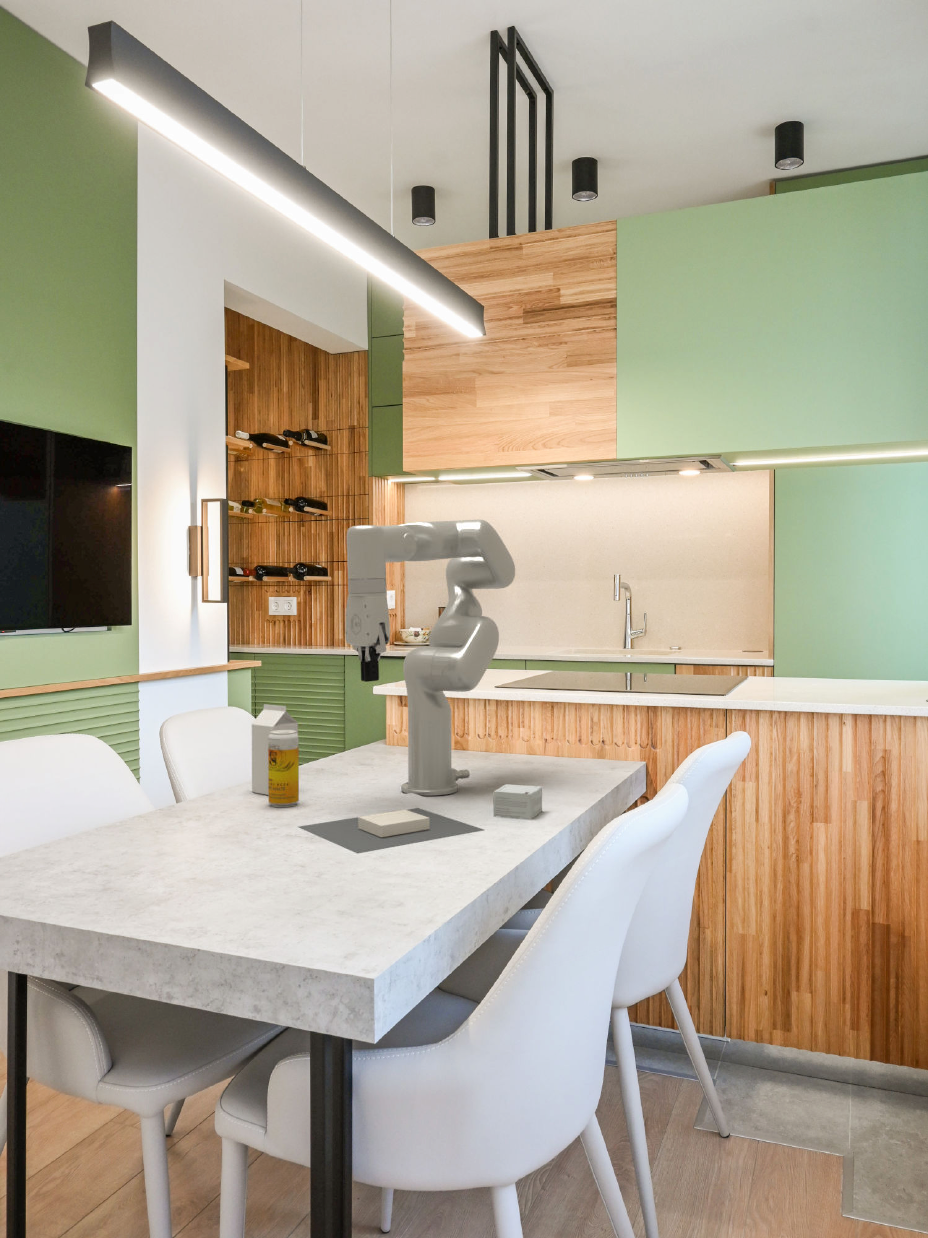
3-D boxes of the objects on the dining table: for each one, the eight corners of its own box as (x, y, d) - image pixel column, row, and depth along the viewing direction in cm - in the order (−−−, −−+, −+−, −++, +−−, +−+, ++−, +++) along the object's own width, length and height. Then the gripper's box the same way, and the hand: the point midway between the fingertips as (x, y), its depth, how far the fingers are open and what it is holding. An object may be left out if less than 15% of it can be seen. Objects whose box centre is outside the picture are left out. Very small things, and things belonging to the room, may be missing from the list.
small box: (505, 808, 183) (505, 783, 183) (543, 812, 180) (543, 786, 180) (492, 817, 176) (492, 790, 176) (531, 820, 173) (531, 793, 173)
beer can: (262, 806, 185) (261, 732, 185) (281, 800, 190) (281, 728, 190) (285, 809, 182) (285, 734, 182) (304, 803, 188) (304, 730, 187)
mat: (417, 810, 181) (417, 807, 181) (485, 833, 163) (485, 829, 163) (297, 830, 165) (297, 826, 165) (357, 857, 147) (357, 853, 147)
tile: (405, 809, 169) (429, 817, 163) (405, 821, 169) (429, 829, 163) (358, 817, 163) (381, 825, 157) (358, 829, 163) (381, 838, 157)
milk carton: (273, 796, 194) (273, 707, 194) (251, 792, 198) (251, 705, 198) (298, 791, 200) (298, 704, 200) (276, 787, 204) (276, 702, 204)
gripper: (331, 588, 183) (334, 679, 184) (371, 588, 171) (373, 686, 172) (363, 587, 188) (366, 676, 189) (404, 587, 176) (406, 682, 177)
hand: (370, 680), depth 181 cm, fingers closed
